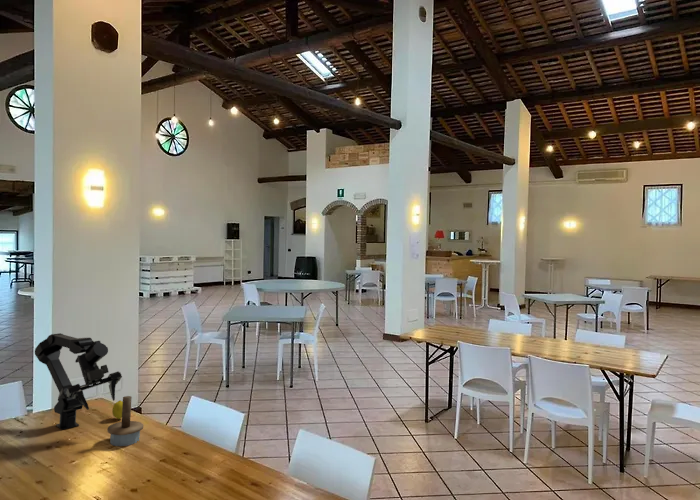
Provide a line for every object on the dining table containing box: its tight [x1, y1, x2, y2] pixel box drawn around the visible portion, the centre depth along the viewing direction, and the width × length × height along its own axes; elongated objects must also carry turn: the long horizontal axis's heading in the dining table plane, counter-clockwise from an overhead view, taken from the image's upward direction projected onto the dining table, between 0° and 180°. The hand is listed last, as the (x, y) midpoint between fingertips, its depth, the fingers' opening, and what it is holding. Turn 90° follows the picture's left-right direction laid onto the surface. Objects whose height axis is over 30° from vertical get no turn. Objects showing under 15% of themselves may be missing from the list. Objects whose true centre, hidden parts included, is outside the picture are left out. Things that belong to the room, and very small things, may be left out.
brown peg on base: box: [107, 395, 144, 435], centre depth 180 cm, size 12×12×12 cm
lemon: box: [111, 400, 123, 420], centre depth 202 cm, size 6×6×8 cm
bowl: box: [109, 430, 141, 447], centre depth 180 cm, size 10×10×4 cm
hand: (101, 404), depth 181 cm, fingers open, 9 cm apart
